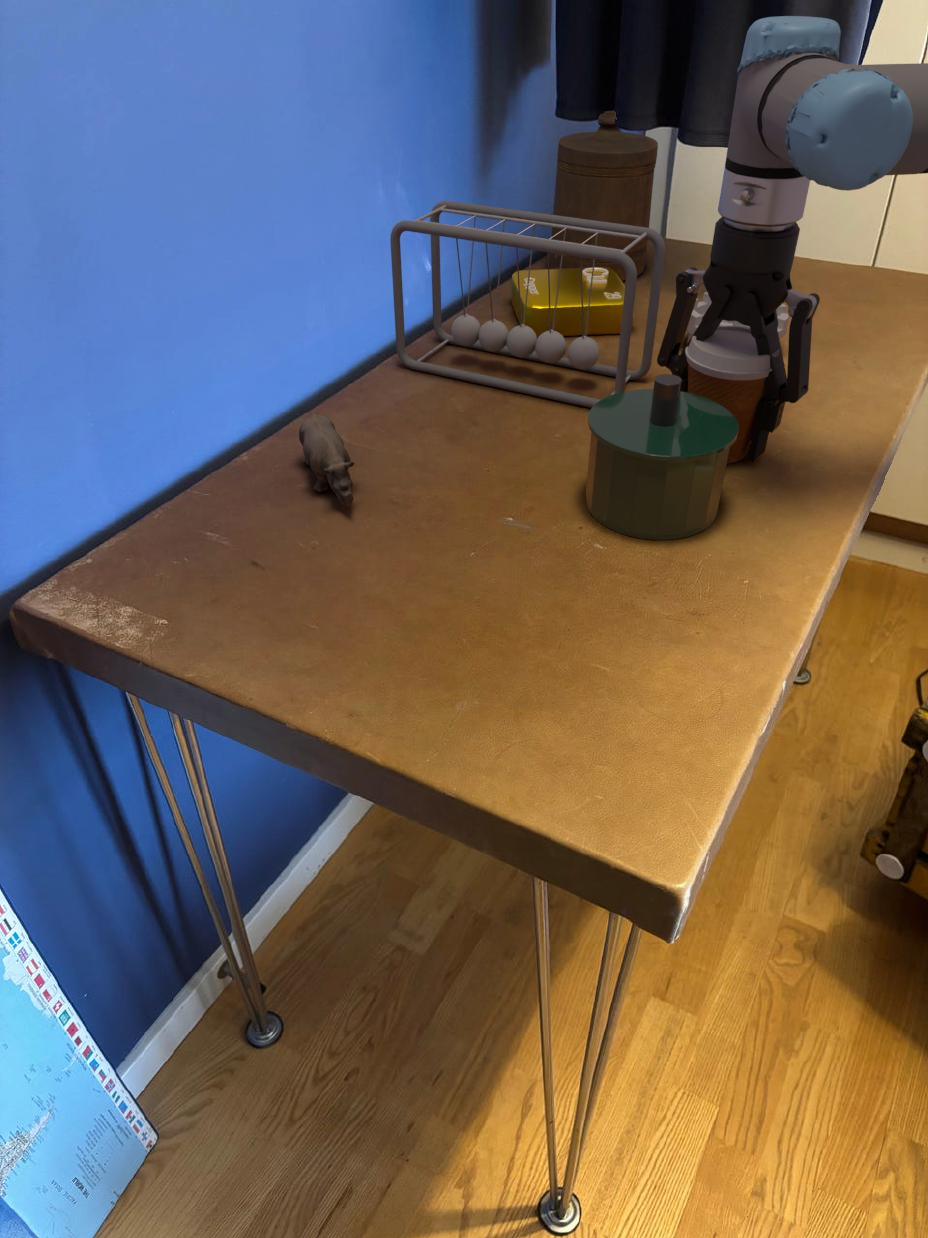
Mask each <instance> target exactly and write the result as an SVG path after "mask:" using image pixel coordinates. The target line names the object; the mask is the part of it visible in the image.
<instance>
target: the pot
mask: <svg viewBox="0 0 928 1238" xmlns="http://www.w3.org/2000/svg"><path fill="white" fill-rule="evenodd" d="M729 449H730V447H729V448H728V449H726V450H725V451H723V452H721V453H719V454H716V455H714V456H711V457H707V458H703V459H697V460H690V461H658V460H650V459H643V458H639V457H634V456H631V455H627V454H624V453H622V452H619V451H616V450H614V449H612V448H610V447H608V446H606V445H605V444H603V443H602V442H600V441H599V440H598V439H597V438H596V437H595V436H594V435H593V434H592V432H591V431H590V443H589V454H588V455H589V456H588V464H587V465H588V467H587V477H586V487H585V488H586V489H585V499H586V507H587V509H588V511H589V513H590V515H592V517H593V518H594V519H595V520H596V521H597V522H598V523H599V524H601V525H603V526H604V527H606V528H607V529H609V530H612V531H614V532H616V533H620V534H622V535H624V536H628V537H632V538H637V539H642V540H651V541H669V540H678V539H685V538H688V537H691V536H692V537H693V536H694V535H697V534H699V533H701V532H703V531H705V530H707V528H708V527H710V526H711V525H712V523H713V522H714V521H715V519H716V516H717V514H718V510H719V505H720V501H721V495H722V490H723V485H724V479H725V474H726V470H727V464H728V463H727V459H728V454H729Z"/></svg>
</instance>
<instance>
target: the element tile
mask: <svg viewBox="0 0 928 1238" xmlns="http://www.w3.org/2000/svg"><path fill="white" fill-rule="evenodd" d="M592 269H593V267H590V268H582V288H583V324H584V336H585V330H586V321H587V313H588V304H589V295H590V286H591V278H592ZM559 271H560V269H551V268H549V272H550V309H551V330H552V327H553V319H554V311H555V303H556V295H557V287H558V279H559ZM528 274H529V269H524V270H523V269H522V270H519V284H520V303H521V322H522V324H523V320H524V311H525V301H526V292H527V283H528ZM624 294H625V283H624V281H621V279H620V278H619V277H618V275H617V274H616V272H615V271H614V270H612V269H611V268H609V267H594V272H593V281H592V290H591V298H590V307H589V316H588V325H587V333H586V336H599V335H620V333H621V323H622V313H623V303H624ZM510 300H511V301H510V302H511V305H512V308H513V310H514V313H515V315H516V318H517V320H518V323H519V324H520V309H519V290H518V272H517V270H516V271H514V273H513V274H511V299H510ZM524 325H525V326H528V327H530V328H531V329H533V331H534V332H535V334H536V336H537V338H538V337H539V336H540V335H541V334H542V333H544V332H546V331H550V322H549V286H548V268H545V269H544V268H543V269H530V277H529V286H528V295H527V304H526V313H525V323H524ZM554 331H556V332H558V333H560V334H561V335H562V336H563V337H578V336H579V337H582V302H581V268H567V269H561V274H560V282H559V290H558V298H557V306H556V314H555V322H554Z"/></svg>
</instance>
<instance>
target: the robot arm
mask: <svg viewBox="0 0 928 1238" xmlns="http://www.w3.org/2000/svg"><path fill="white" fill-rule="evenodd" d="M841 33H842V31H841V27H840V24H839V23H838V22H837V21H836V20H833V19H831V18H827V17H819V16H806V15H805V16H804V15H803V16H801V15H782V16H781V15H780V16H768V17H763V18H760V19H757V20H755V21H754V22H753V23H752V24H751V25H750V26H749V28H748V30H747V32H746V36H745V41H744V44H743V50H742V54H741V59H740V63H739V65H738V67H737V71H736V72H737V76H738V77H737V81H736V82H737V83H736V89H735V96H734V102H733V108H732V109H733V110H732V116H731V124H730V131H729V135H728V136H729V137H728V142H727V148H726V149H727V150H726V156H725V157H726V158H725V163H724V170H723V176H722V182H721V188H720V193H719V194H720V195H719V200H718V207H717V212H718V214H719V215H720V218H718V220H717V221H716V222H715V225H714V231H713V236H712V244H711V250H710V263H709V265H708V267H707V268H706V270H698V268H697V267H695V266H691V267H688V268H687V269H685V270H683V271H682V272H679V273H678V274H677V275H676V277H675V300H674V303H673V307H672V308H671V313H670V316H669V319H668V322H667V325H666V328H665V332H664V335H663V338H662V342H661V345H660V348H659V351H658V355H657V359H656V362H657V363H656V364H657V365H658V366H659V367H662V368H663V367H665V368H666V369H668V370H669V371H670V372H671V374H672V375H676V376H678V377H680V378H681V379H682V385H681V391H682V392H687V393H688V366H689V365H688V362H687V357H686V354H685V349H686V347H689V344H690V342H691V339H692V337H693V336H696V340H698V341H702V342H703V341H704V340H706V339H707V338H709V337H710V336H712V335H713V334H714V333H715V331H716V329H717V328H718V326H719V325H720V323H721V322H722V320H726V321H737V322H739V323H741V324H743V325H746V326H750V329H751V334H752V336H753V337H754V338H755V341H756V346H757V351H758V355H759V356H760V355H770V368H771V369H772V371H770V372H769V375H768V377H766V378H765V381H764V384H765V389H766V394H767V396H766V397H764V398H763V399H762V400H761V401H759V404H758V409H757V414H756V418H755V423H754V428H753V433H752V438H751V441H750V444H749V447H748V451H747V457H746V460H747V461H749V462H752V463H754V462H756V461H757V460H758V459H759V458H760V457H761V456H762V455H763V454H765V452H766V448H767V443H768V438H769V435H770V433H773V432H775V430H777V429H778V428H779V426H780V425H781V422H782V418H783V413H784V409H785V405H786V403H790V404H795V403H797V402H798V401H799V400H800V399H802V398H803V397H805V395H806V394H807V393H808V392H809V387H810V386H809V384H810V368H811V367H810V366H811V350H812V349H811V348H812V334H813V333H812V330H813V318H814V316H815V314H816V311H817V308H818V306H819V304H820V301H821V298H820V296H819V294H818V293H815V292H812V293H810V294H808V295H807V294H805V293H803V292H801V291H798V290H796V289H793V284H792V279H791V271H792V267H793V264H794V259H795V256H796V251H797V250H796V249H797V246H798V241H799V236H800V232H801V228H800V226H799V224H798V222H799V221H800V220H802V219H803V217H804V213H805V209H806V203H807V198H808V195H809V188H810V183H811V181H812V182H813V181H814V183H816V184H817V185H819V186H822V187H826V188H827V187H829V188H831V189H834V190H836V191H837V190H839V191H847V192H848V191H849V192H850V191H856V190H860V189H864V188H866V187H868V186H869V185H872V184H874V183H875V182H876V181H878V180H880V179H882V178H884V177H885V176H904V175H920V174H928V62H926V63H925V62H923V63H920V62H919V63H882V64H881V63H879V64H849V63H844V62H840V61H839V60H840V55H841V54H840V45H841V35H842V34H841ZM703 285H704V287H705V291H706V292H708V295H709V297H710V299H711V301H712V303H711V305H710V306H709V308H708V309H707V311H706V313H705V314H704V316H703V317H702V321H701V323H700V324H699V326H698V328H697V329H696V331H695V332H694V334H693V335H692V337H691V339H690V340H689V342H688V343H687V342H686V345H685V347H683V349H682V345H683V342H684V339H685V336H686V333H687V331H686V330H687V327H688V324H689V321H690V318H691V315H692V312H693V308H694V305H695V302H696V299H698V296H699V292H701V291H702V289H703ZM782 303H783V304H785V303H786V305H787V308H788V310H787V313H788V315H789V316H790V317H789V318H791V320H790V322H789V330H788V350H787V370H786V365H785V361H784V356H783V351H782V345H781V341H780V340H781V339H780V340H779V335H778V330H777V327H778V318H777V313H776V309H777V308H778V307H779V306H780V305H781V304H782ZM681 349H682V352H681ZM777 350H779V355H778V356H777V357H773V356H772V354H773V353H775V352H776V351H777ZM680 352H681V353H680ZM778 365H780V366H778ZM777 366H778V367H777ZM786 371H787V372H786Z"/></svg>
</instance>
